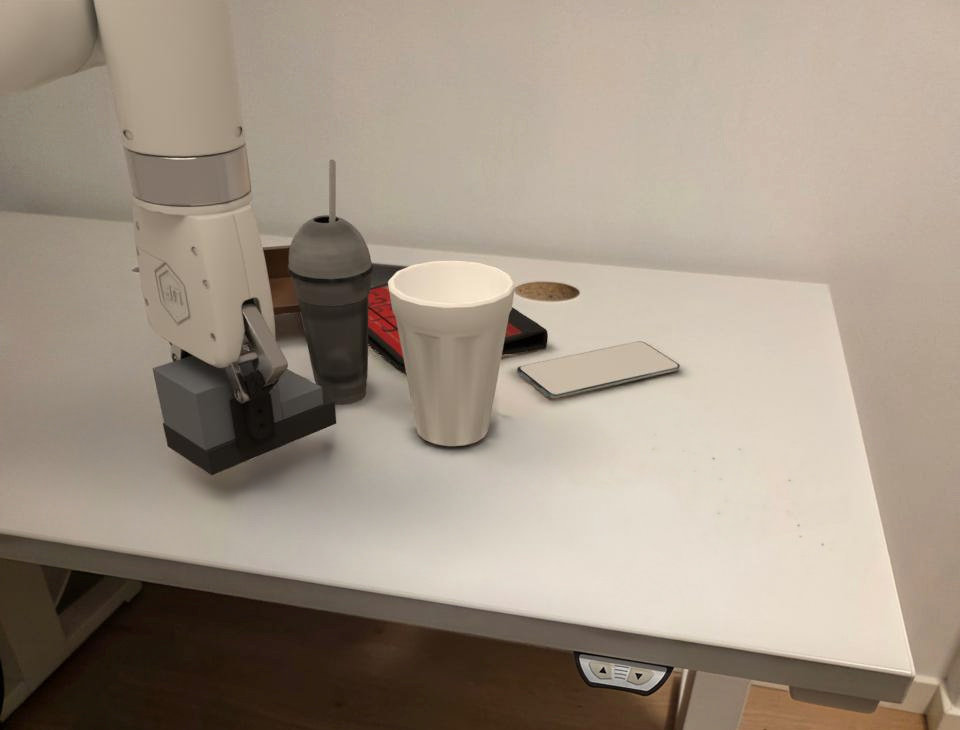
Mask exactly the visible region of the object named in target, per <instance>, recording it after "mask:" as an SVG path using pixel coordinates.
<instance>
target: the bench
mask: <svg viewBox="0 0 960 730" xmlns="http://www.w3.org/2000/svg"><path fill="white" fill-rule="evenodd" d="M290 245H291V244H287V245H275V246H262V247H263V252H264V257H265V262H266V267H267V273H268V278H269V284H270V290H271V296H272V303H273V311H274V316H277V315H288V314H298V313H300V314H301V312H300V307H299V302H298V297H296V294H295V291H294V287H293V284H292V281H291V275H289V273H288V265H289V249H290Z"/></svg>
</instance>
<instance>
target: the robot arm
mask: <svg viewBox="0 0 960 730" xmlns="http://www.w3.org/2000/svg"><path fill="white" fill-rule="evenodd" d="M105 66H106V69H107V75H108V79H109V84H110V88H111V94H112V98H113V104H114V108H115V113H116V118H117V123H118V128H119V134H120V138H121V143H122V147H123V153H124V157H125V162H126V163H125V164H126V168H127V172H128V176H129V177H128V178H129V183H130V188H131V192H132V221H133V232H134V243H135V250H136V259H137V266H138V272H139V278H140V279H139V280H140V285H141V290H142V296H143V303H144V309H145V313H146V318H147V321H148V324H149V326H150V328H151V330H152V331H153V332H154V333H155V334H156V335H157V336H159V337H160V338H162V339H163V340H165V341H167V342H168V343H169V345H170V358H171V362H174V361H177V360H180V359H183V358H186V357H189V356H192V355H194V356H195V357H197V358H199V359H201V360H203V361H205V362H206V363H208V364H210V365H212V366H215V367H217V368H225V370H226V373H227V376H228V379H229V382H230V384H231V387H232V390H233V393H234V396H235V399H232V400H230V406H231V412H232V418H233V425H234V431H235V437H236V444H237V447H238V448H240V449H241V450H243V451H246V450H248V449H251V448H253V447H256V446H258V445H261V444H263V443H266V442H268V441H271V440H273V439H274V438H275V436H276V431H275V423H274V415H273V407H272V399H271V393H273V392H274V391H275V385H276V384H277V382H278V381H279V378H280V377H281V375H282V374H283V373H284V372H285V371H286V370H287V369H289V368H288V367H289V363H288V360H287V358H286V356H285V355H284V352H283V351H282V349H281V347H280V346H279V343H278V342H277V340H276V323H275V322H276V321H275V315H274V311H273V303H272V296H271V290H270V284H269V278H268V273H267V267H266V262H265V257H264V252H263V247H264V246H263V243H262V239H261V234H260V231H259V230H260V229H259V227H258V222H257V220H256V219H257V218H256V215H255V212H254V207H253V205H252V204H251V202H252V200H253V192H252V182H251V175H250V167H249V157H248V151H247V150H248V149H247V143H246V134H245V126H244V118H243V117H244V116H243V110H242V101H241V93H240V84H239V75H238V68H237V60H236V51H235V43H234V35H233V26H232V17H231V9H230V2H229V0H0V96H14V95H19V94H23V93H24V94H25V93H27V92H30V91H33V90H36V89H38V88H41V87H43V86H46V85H48V84H50V83H53V82H56V81H58V80H61V79H63V78H66V77H70V76H74V75H76V74H79V73H82V72H85V71H88V70H91V69H94V68H99V67H105ZM243 345H247V348H248V351H246V352H243V353H240V352H241V348H243ZM249 361H251V362H252V365H253V368H254V371H253V372H251V373H250V374H249V376H248V377H247V378H246V380H245V381H244V378H243V375H242V372H241V369H240V367H239V365H240V364H243V363H246V362H249Z"/></svg>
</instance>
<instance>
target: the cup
mask: <svg viewBox="0 0 960 730" xmlns="http://www.w3.org/2000/svg"><path fill="white" fill-rule="evenodd" d="M387 283H388V286H389V292H390V299H391V305H392V310H393V313H394V315H395V317H396V322H397V327H398V332H399V337H400V343H401V348H402V353H403V358H404V364H405V369H406V371H405V374H406V378H407V385H408V389H409V394H410V399H411V405H412V410H413V415H414V420H415V425H416V431H417V434H418V436H420V437H421V438H422V439H423V440H424V441H427V442H429V443H432V444H434V445H438V446H444V447H458V446H459V447H461V446H467V445H471V444H474V443H477V442H479V441H480V440H482V439H484V438H485V437H486V436H487V433H488V431H489V429H490V423H491V418H492V413H493V406H494V400H495V394H496V390H497V384H498V379H499V373H500V369H501V368H500V367H501V363H502V357H503V355H502V351H503V345H504V340H505V334H506V328H507V323H508V317H509V313H510V311H511V309H512V307H513V304H514V298H515V297H514V296H515V291H516V289H515V288H516V285H515V283H514V281H513V278H512V277H511V275H510V274H509V273H507V272H505V271H503V270H501V269H500V268H498V267H495V266H491V265H487V264H484V263H480V262H475V261H474V262H473V261H465V260H433V261H428V262H421V263H417V264H411V265H409V266H407V267H404V268H402V269H400V270H397V271H396V272H395V273H394V274H393V275H392V277H390V278H389V280H388V281H387Z"/></svg>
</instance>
